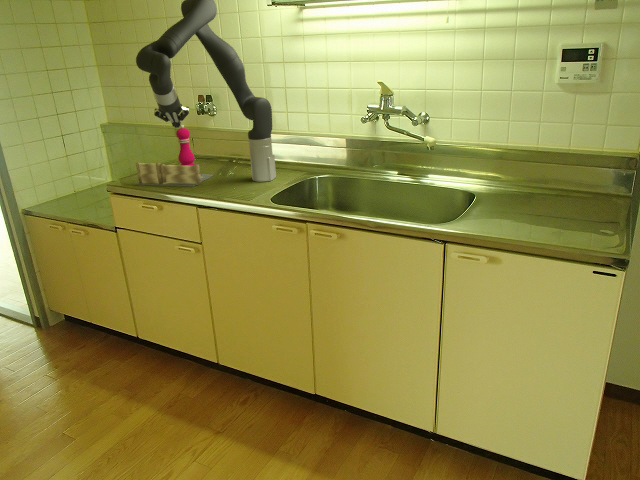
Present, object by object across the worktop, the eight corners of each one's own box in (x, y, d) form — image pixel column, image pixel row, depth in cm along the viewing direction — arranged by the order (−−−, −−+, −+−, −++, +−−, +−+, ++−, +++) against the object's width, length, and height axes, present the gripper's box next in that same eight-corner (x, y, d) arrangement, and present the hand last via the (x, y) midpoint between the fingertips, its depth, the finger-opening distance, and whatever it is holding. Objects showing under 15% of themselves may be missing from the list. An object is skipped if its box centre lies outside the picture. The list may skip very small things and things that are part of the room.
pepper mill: (193, 169, 250) (187, 125, 243) (178, 170, 250) (171, 126, 243) (197, 165, 257) (191, 122, 249) (182, 166, 257) (175, 123, 250)
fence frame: (138, 183, 229) (134, 163, 226) (140, 182, 231) (137, 162, 228) (161, 183, 226) (158, 163, 223) (164, 182, 228) (160, 162, 225)
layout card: (213, 175, 238) (213, 174, 237) (193, 186, 221) (193, 185, 221) (156, 173, 245) (156, 172, 245) (133, 184, 229) (133, 183, 229)
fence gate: (162, 182, 226) (159, 164, 223) (164, 181, 228) (161, 163, 225) (199, 183, 221) (197, 165, 219) (202, 182, 223) (199, 164, 220)
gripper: (185, 86, 191) (195, 116, 207) (147, 88, 190) (159, 118, 206) (185, 103, 188) (194, 133, 203) (146, 105, 187) (159, 135, 203)
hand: (177, 125), depth 205 cm, fingers closed
